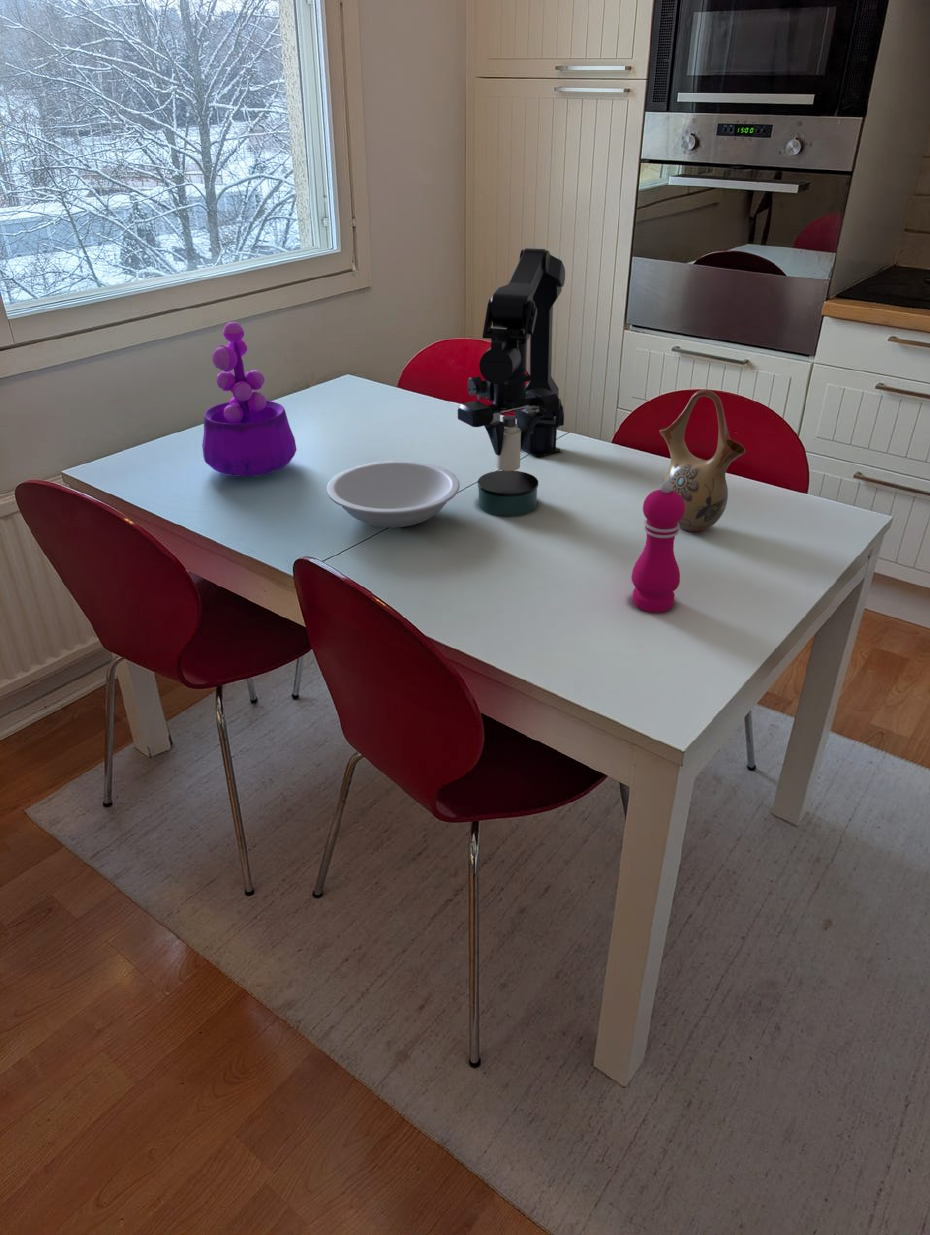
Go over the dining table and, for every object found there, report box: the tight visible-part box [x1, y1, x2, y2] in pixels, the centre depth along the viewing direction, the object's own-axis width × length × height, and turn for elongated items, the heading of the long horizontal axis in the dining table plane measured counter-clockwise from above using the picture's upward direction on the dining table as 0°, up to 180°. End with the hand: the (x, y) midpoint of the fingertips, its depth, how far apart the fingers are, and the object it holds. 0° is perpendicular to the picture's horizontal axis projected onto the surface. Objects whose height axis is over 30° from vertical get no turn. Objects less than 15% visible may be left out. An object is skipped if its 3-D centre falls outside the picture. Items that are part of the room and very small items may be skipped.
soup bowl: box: [326, 460, 461, 528], centre depth 163 cm, size 24×24×7 cm
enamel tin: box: [477, 470, 539, 517], centre depth 168 cm, size 11×11×5 cm
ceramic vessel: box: [658, 389, 747, 533], centre depth 154 cm, size 16×9×25 cm, turn 45°
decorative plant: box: [201, 321, 298, 477], centre depth 178 cm, size 19×18×30 cm
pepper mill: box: [630, 481, 685, 613], centre depth 132 cm, size 7×7×20 cm
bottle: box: [495, 414, 521, 471], centre depth 163 cm, size 4×4×10 cm
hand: (508, 452), depth 164 cm, fingers closed on bottle, 4 cm apart
